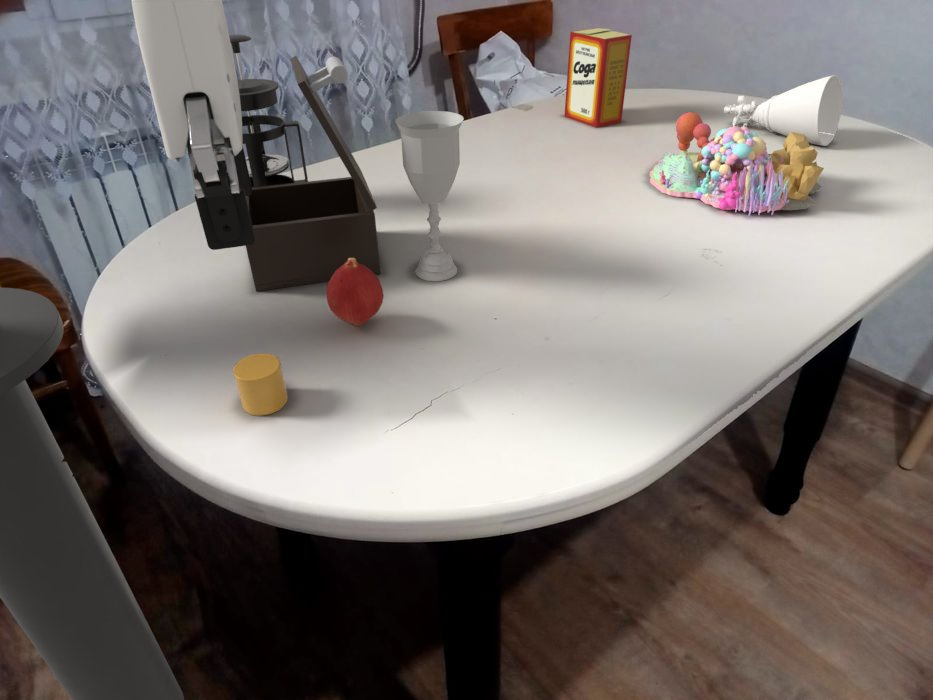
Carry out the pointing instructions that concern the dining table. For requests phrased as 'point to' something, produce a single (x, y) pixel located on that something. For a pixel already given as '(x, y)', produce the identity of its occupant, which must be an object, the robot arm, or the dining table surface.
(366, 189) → the wooden box lid
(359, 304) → the red fruit
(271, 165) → the french press
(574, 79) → the baking soda box
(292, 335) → the dining table surface
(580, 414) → the dining table surface
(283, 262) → the dark brown wooden crate
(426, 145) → the chalice
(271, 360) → the pod
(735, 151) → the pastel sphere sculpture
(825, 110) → the rocket engine
